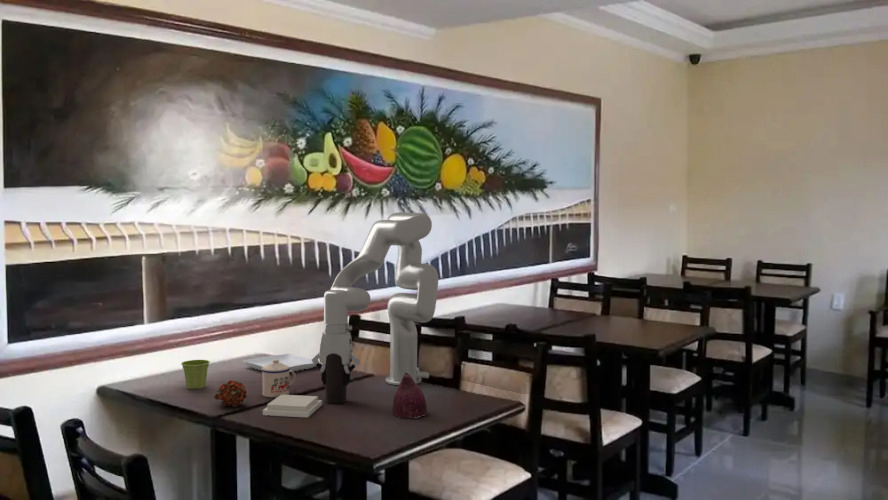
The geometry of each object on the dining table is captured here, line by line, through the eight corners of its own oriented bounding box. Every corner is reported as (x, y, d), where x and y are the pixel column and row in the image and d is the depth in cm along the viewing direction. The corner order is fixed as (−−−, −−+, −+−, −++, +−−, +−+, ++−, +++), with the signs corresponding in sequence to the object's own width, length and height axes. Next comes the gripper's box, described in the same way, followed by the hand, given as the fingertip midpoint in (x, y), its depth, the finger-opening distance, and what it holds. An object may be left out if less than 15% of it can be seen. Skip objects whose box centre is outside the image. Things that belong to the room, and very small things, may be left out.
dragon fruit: (240, 415, 235) (221, 412, 244) (258, 394, 240) (239, 393, 249) (223, 395, 232) (204, 393, 240) (242, 375, 237) (223, 374, 245)
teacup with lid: (271, 399, 247) (271, 363, 246) (256, 394, 254) (256, 359, 253) (302, 393, 256) (302, 358, 255) (287, 388, 262) (287, 354, 261)
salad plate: (321, 369, 293) (321, 360, 292) (273, 378, 277) (273, 369, 277) (288, 361, 307) (288, 352, 307) (241, 369, 292) (241, 360, 292)
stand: (322, 405, 241) (322, 395, 241) (307, 417, 227) (307, 407, 227) (279, 402, 243) (279, 393, 243) (262, 415, 229) (262, 405, 229)
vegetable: (414, 431, 226) (412, 386, 221) (385, 420, 231) (383, 376, 226) (433, 414, 234) (433, 370, 229) (406, 405, 240) (404, 362, 235)
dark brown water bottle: (328, 398, 249) (328, 337, 248) (348, 399, 249) (348, 337, 247) (322, 403, 243) (322, 341, 241) (343, 404, 242) (343, 341, 241)
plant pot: (175, 389, 260) (175, 363, 259) (194, 383, 268) (193, 358, 268) (197, 391, 256) (197, 366, 255) (216, 385, 265) (215, 360, 264)
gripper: (365, 327, 247) (365, 382, 248) (313, 326, 249) (313, 380, 250) (359, 331, 239) (359, 388, 240) (305, 329, 242) (306, 386, 243)
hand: (335, 383), depth 245 cm, fingers closed on dark brown water bottle, 6 cm apart
